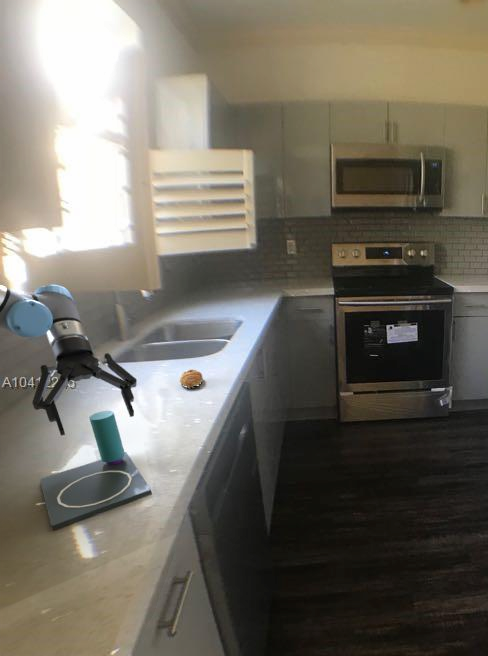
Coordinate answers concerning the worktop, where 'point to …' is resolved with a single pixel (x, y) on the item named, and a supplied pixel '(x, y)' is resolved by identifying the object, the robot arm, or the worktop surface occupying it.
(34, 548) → the worktop surface
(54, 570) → the worktop surface
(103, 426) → the dot marker
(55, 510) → the slate board
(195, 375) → the pastry
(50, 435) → the worktop surface
